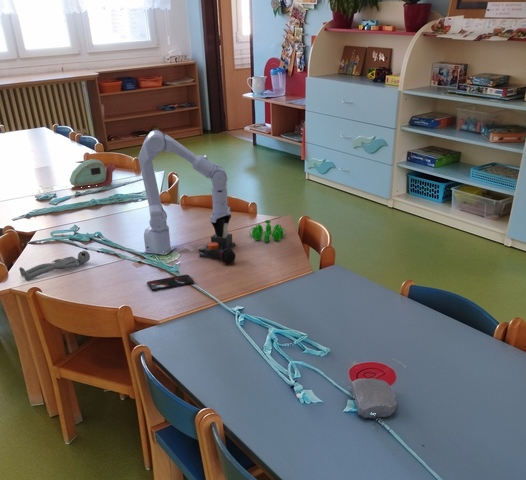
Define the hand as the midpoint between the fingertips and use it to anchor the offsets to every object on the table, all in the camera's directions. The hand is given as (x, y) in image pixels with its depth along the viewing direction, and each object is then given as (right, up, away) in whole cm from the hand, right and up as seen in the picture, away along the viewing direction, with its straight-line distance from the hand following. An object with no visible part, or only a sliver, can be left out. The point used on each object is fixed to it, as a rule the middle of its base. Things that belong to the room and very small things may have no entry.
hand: (221, 235), depth 225 cm
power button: (-3, -6, -5) cm, 8 cm away
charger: (0, -1, +1) cm, 2 cm away
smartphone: (-16, -22, -27) cm, 38 cm away
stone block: (+43, -58, -87) cm, 113 cm away
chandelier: (+18, +1, +12) cm, 22 cm away
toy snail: (-74, +42, +83) cm, 119 cm away
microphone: (-2, -9, -8) cm, 12 cm away
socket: (0, -5, +3) cm, 5 cm away
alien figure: (-58, -16, -16) cm, 63 cm away
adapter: (-1, -6, -1) cm, 7 cm away
